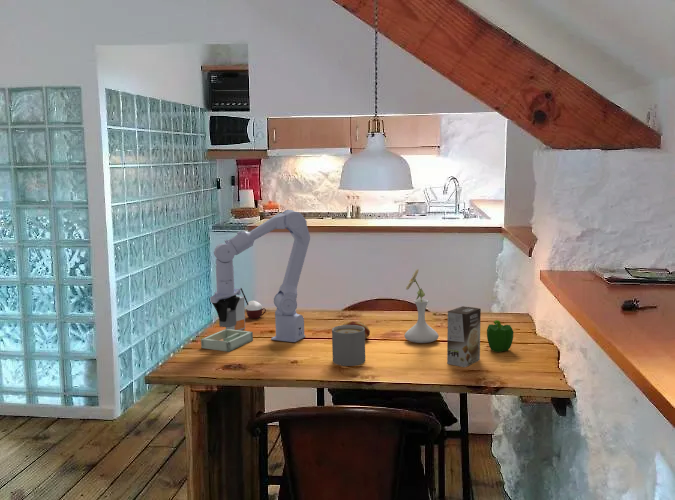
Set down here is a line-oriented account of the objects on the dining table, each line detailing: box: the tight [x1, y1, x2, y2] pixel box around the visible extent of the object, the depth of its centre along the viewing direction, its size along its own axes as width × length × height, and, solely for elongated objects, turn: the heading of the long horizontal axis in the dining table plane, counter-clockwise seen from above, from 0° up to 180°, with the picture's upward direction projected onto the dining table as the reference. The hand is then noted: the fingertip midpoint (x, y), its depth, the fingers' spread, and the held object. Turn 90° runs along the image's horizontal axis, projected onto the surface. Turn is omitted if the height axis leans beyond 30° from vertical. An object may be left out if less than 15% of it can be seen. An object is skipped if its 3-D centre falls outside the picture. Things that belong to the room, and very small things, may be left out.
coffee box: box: [446, 305, 482, 368], centre depth 196 cm, size 9×6×16 cm
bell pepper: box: [486, 319, 514, 353], centre depth 208 cm, size 8×8×10 cm
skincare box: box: [225, 295, 246, 331], centre depth 239 cm, size 6×4×12 cm
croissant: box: [342, 320, 371, 340], centre depth 224 cm, size 21×10×8 cm, turn 165°
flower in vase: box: [404, 268, 440, 344], centre depth 218 cm, size 13×11×25 cm
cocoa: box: [239, 287, 267, 320], centre depth 257 cm, size 10×6×12 cm, turn 84°
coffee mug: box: [331, 324, 366, 367], centre depth 202 cm, size 13×10×10 cm
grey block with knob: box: [218, 308, 236, 328], centre depth 220 cm, size 4×4×6 cm
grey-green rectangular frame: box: [200, 328, 254, 353], centre depth 222 cm, size 11×14×3 cm
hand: (226, 319), depth 220 cm, fingers closed on grey block with knob, 4 cm apart
